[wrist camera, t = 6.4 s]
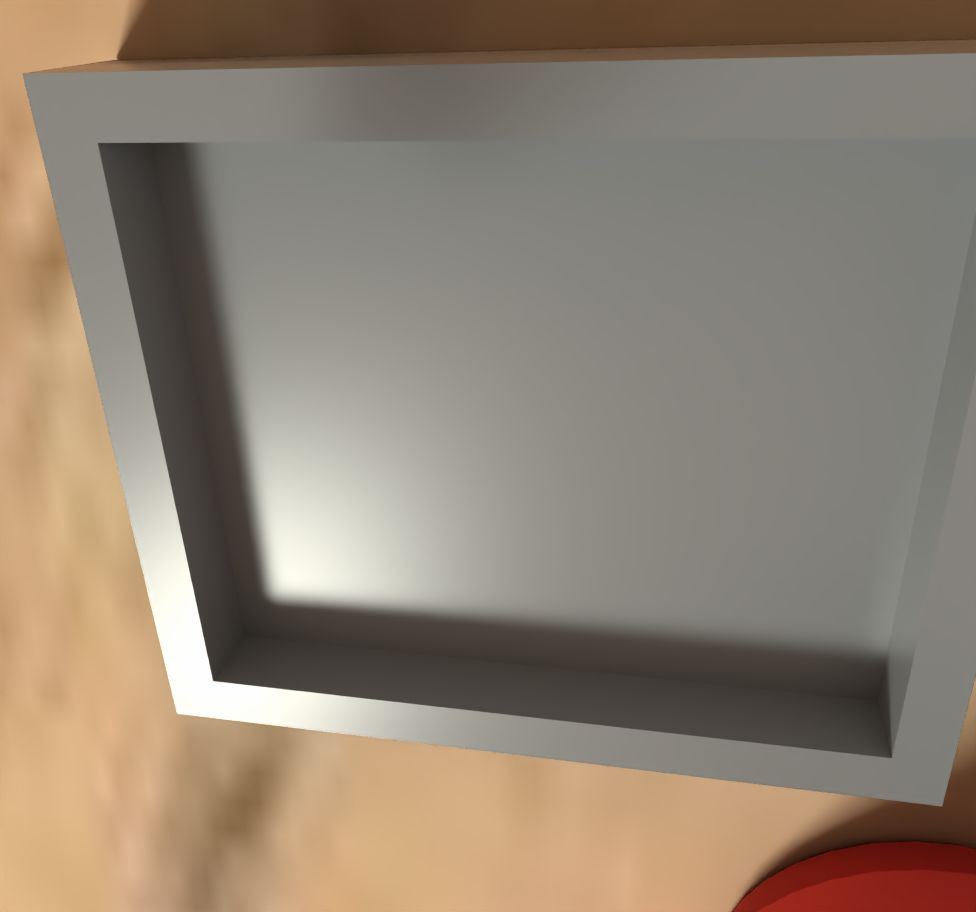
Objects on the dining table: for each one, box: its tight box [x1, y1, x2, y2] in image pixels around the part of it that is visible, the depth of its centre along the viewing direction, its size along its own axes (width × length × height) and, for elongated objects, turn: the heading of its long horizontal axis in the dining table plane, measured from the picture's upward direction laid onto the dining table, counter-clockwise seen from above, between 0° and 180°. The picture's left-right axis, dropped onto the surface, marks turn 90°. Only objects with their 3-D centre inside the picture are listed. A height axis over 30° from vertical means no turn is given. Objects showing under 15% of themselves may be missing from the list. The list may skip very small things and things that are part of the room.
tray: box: [23, 39, 976, 806], centre depth 13 cm, size 12×10×2 cm
